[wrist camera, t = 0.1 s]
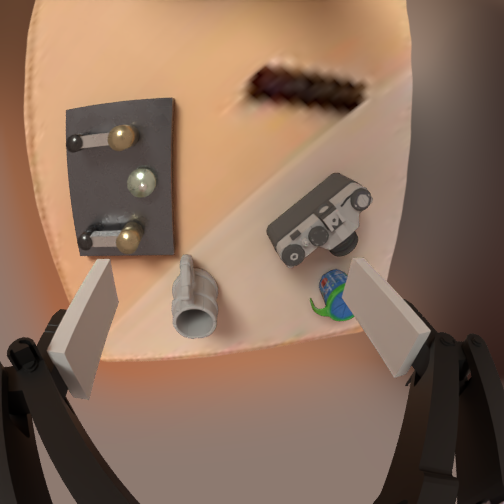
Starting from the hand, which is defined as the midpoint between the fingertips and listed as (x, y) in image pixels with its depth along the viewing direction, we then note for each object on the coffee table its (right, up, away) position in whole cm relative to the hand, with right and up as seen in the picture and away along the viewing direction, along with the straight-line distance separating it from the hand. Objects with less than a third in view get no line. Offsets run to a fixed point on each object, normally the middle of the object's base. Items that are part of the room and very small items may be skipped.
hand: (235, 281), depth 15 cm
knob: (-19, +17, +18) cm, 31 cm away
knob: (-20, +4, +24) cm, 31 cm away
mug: (-9, -2, +32) cm, 33 cm away
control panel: (-18, +12, +23) cm, 32 cm away
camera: (+11, +7, +31) cm, 34 cm away
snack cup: (+16, -4, +37) cm, 40 cm away
